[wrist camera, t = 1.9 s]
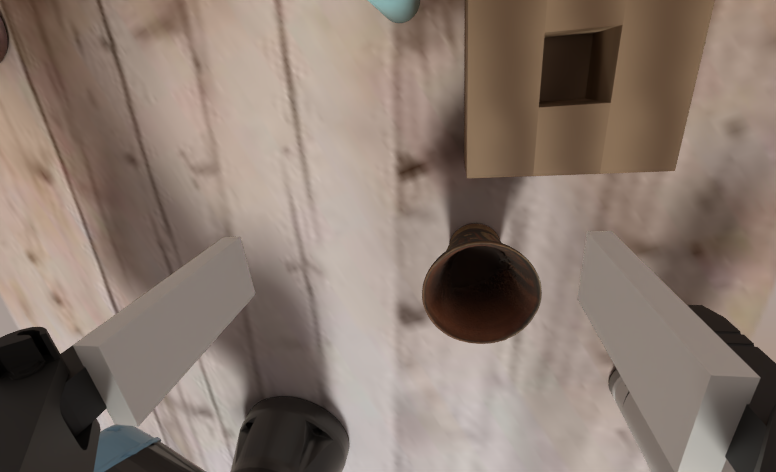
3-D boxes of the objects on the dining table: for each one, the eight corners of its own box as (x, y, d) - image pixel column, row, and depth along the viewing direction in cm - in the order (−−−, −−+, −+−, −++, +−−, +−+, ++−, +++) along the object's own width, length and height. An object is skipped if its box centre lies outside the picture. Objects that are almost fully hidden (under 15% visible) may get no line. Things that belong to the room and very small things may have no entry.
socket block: (464, 161, 33) (466, 178, 27) (464, -24, 27) (468, -49, 22) (634, 153, 30) (674, 170, 25) (673, -52, 25) (735, -87, 20)
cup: (429, 299, 38) (426, 354, 29) (421, 217, 36) (416, 246, 27) (516, 295, 37) (543, 351, 28) (514, 209, 35) (543, 237, 25)
